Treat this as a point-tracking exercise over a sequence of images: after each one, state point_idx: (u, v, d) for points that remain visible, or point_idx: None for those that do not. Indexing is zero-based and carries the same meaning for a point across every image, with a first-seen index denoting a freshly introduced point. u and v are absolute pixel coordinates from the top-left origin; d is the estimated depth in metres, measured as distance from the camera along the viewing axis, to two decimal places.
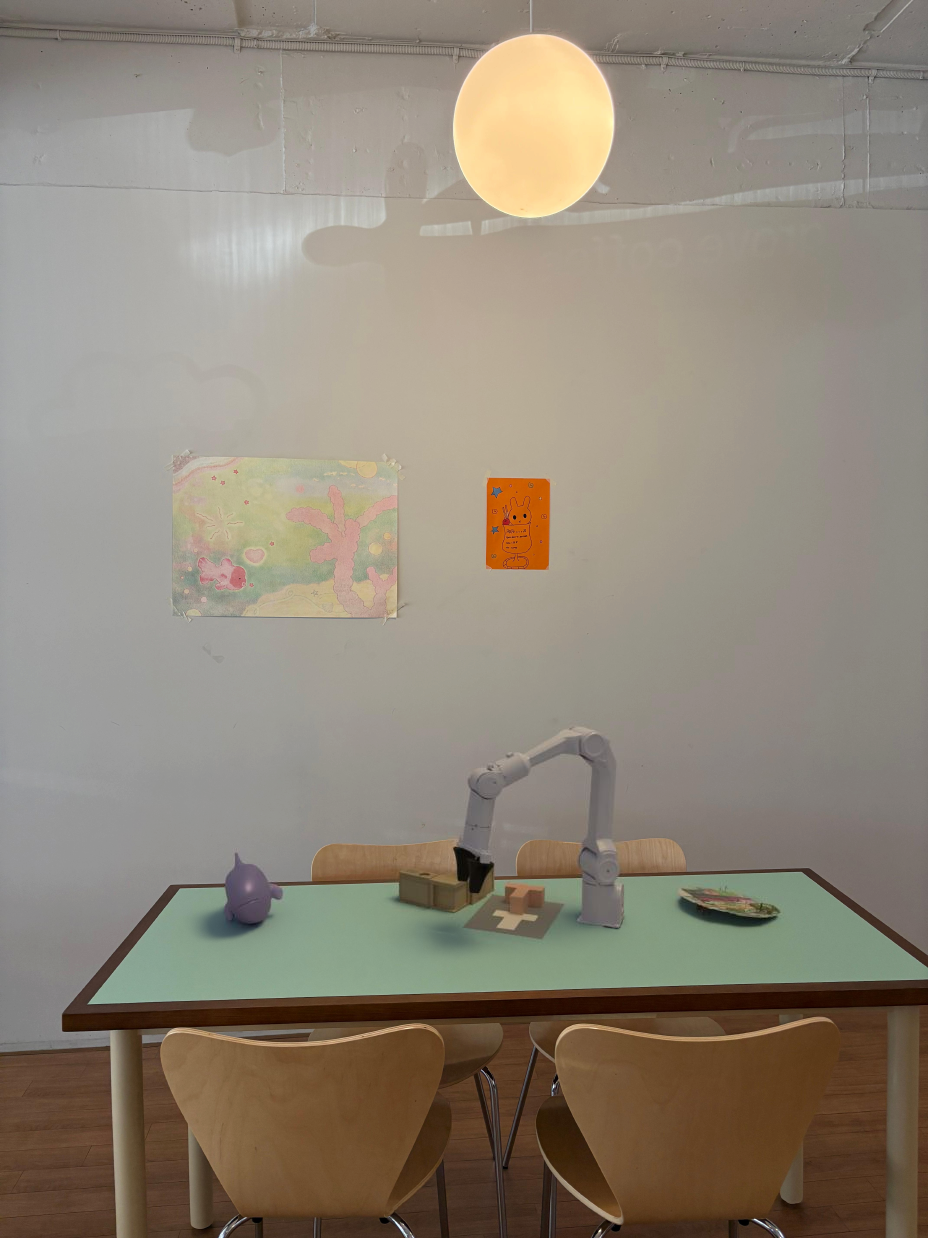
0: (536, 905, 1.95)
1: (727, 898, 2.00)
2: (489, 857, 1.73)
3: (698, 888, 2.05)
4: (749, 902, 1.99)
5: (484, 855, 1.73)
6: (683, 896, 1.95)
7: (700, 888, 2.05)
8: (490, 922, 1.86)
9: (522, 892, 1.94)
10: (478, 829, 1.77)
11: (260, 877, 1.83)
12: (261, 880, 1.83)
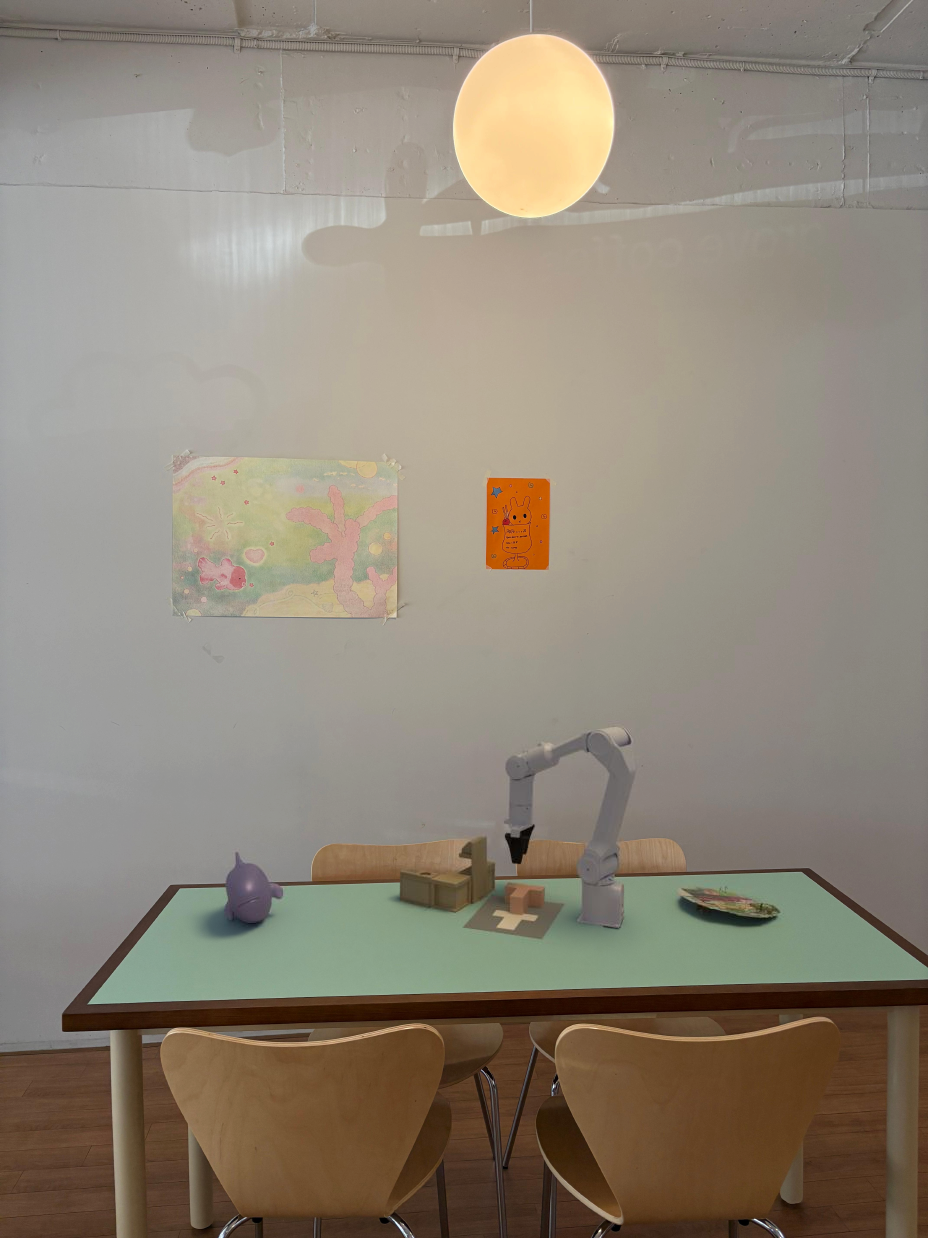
0: (536, 905, 1.95)
1: (727, 898, 2.00)
2: (517, 832, 1.95)
3: (698, 888, 2.05)
4: (749, 902, 1.99)
5: (512, 830, 1.95)
6: (684, 896, 1.95)
7: (700, 888, 2.05)
8: (490, 922, 1.86)
9: (522, 892, 1.94)
10: (515, 807, 2.00)
11: (261, 876, 1.84)
12: (262, 879, 1.83)
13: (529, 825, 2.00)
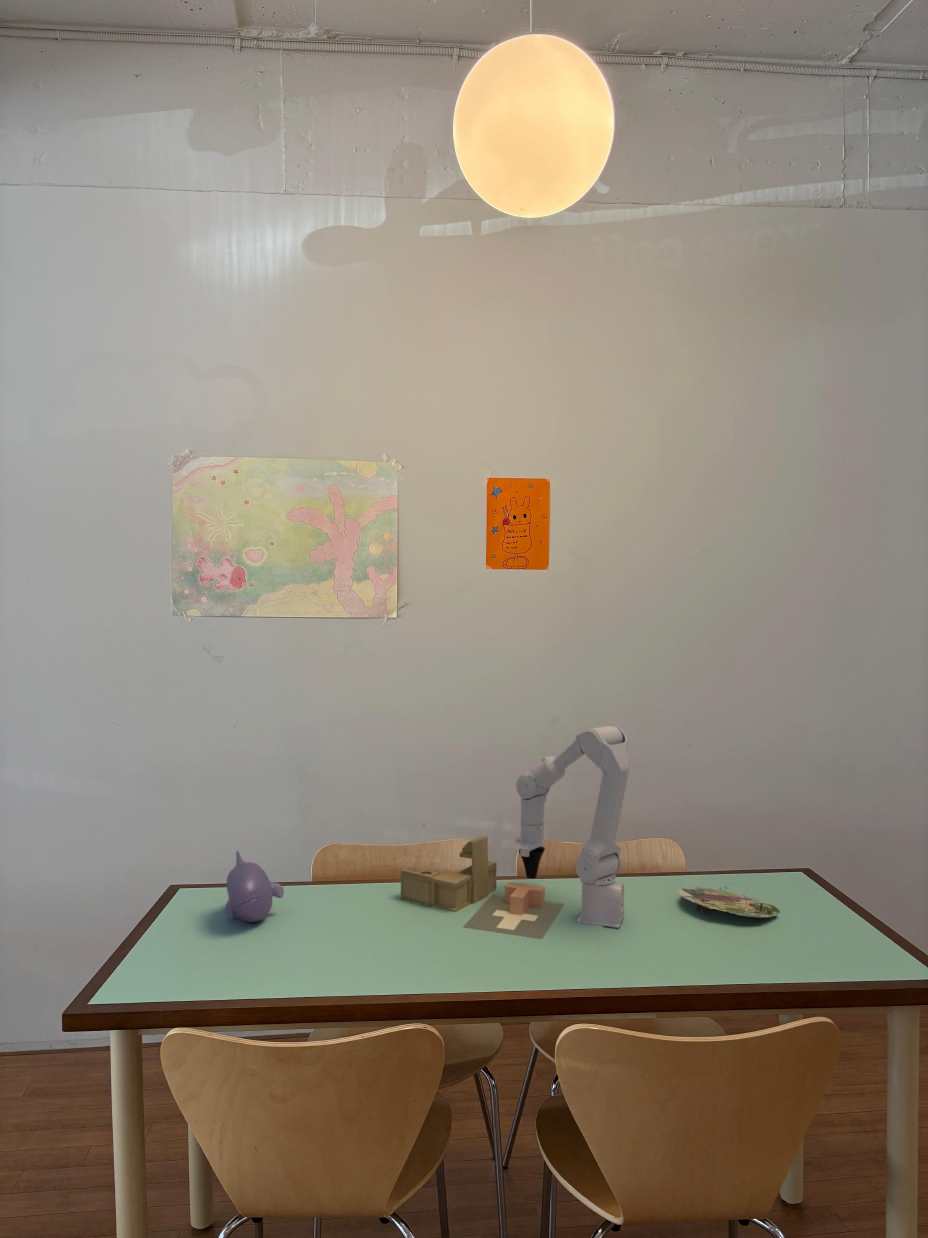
0: (536, 905, 1.95)
1: (727, 898, 2.00)
2: (527, 851, 1.97)
3: (698, 888, 2.05)
4: (749, 902, 1.99)
5: (522, 849, 1.97)
6: (683, 896, 1.95)
7: (700, 888, 2.05)
8: (490, 922, 1.86)
9: (522, 892, 1.94)
10: (526, 826, 2.01)
11: (261, 875, 1.84)
12: (262, 878, 1.84)
13: (540, 844, 2.01)
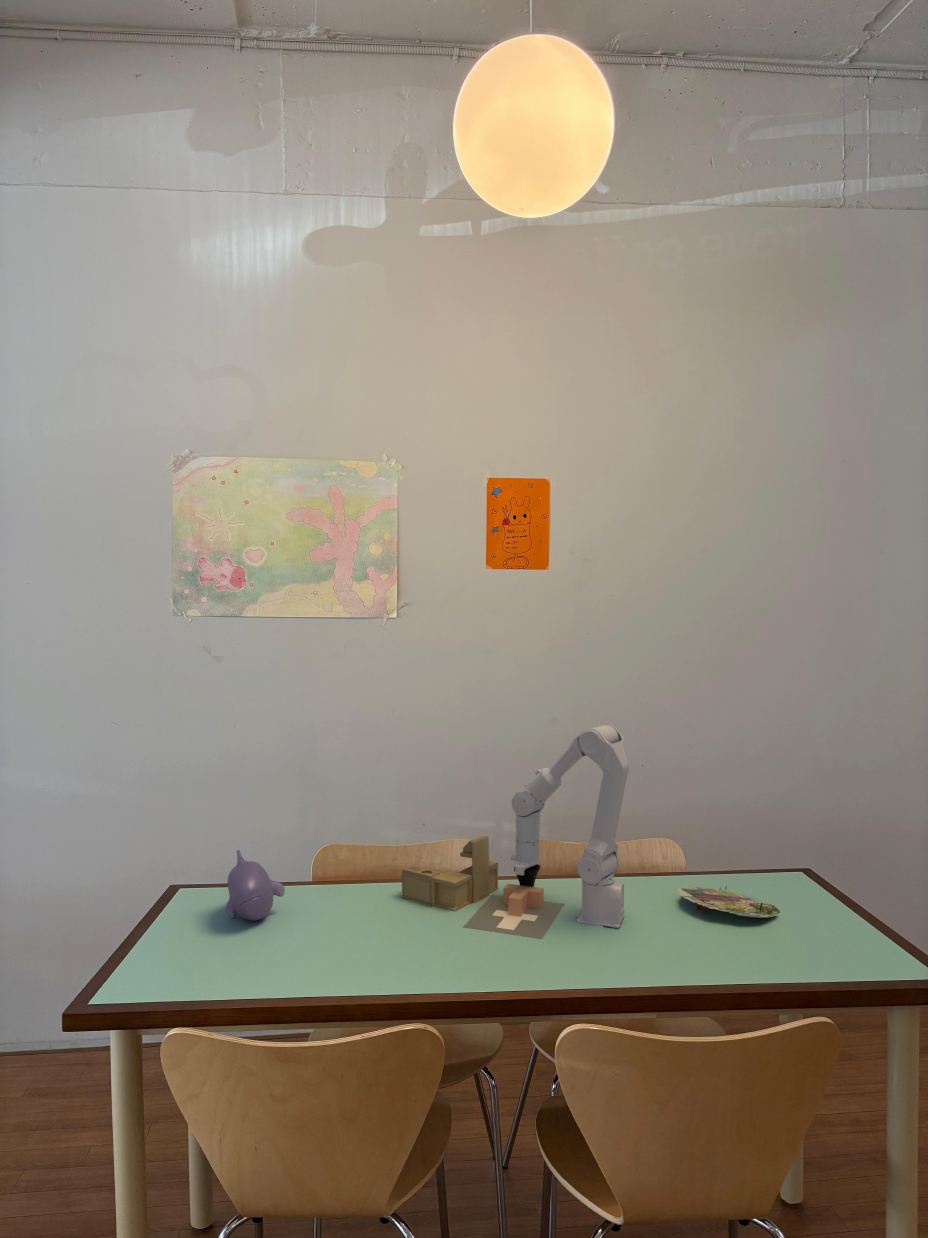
0: (535, 906, 1.94)
1: (727, 898, 2.00)
2: (522, 869, 1.93)
3: (698, 888, 2.05)
4: (749, 902, 1.99)
5: (517, 867, 1.93)
6: (683, 896, 1.95)
7: (700, 888, 2.05)
8: (490, 922, 1.86)
9: (521, 893, 1.93)
10: (521, 844, 1.97)
11: (262, 874, 1.85)
12: (263, 877, 1.85)
13: (535, 862, 1.97)
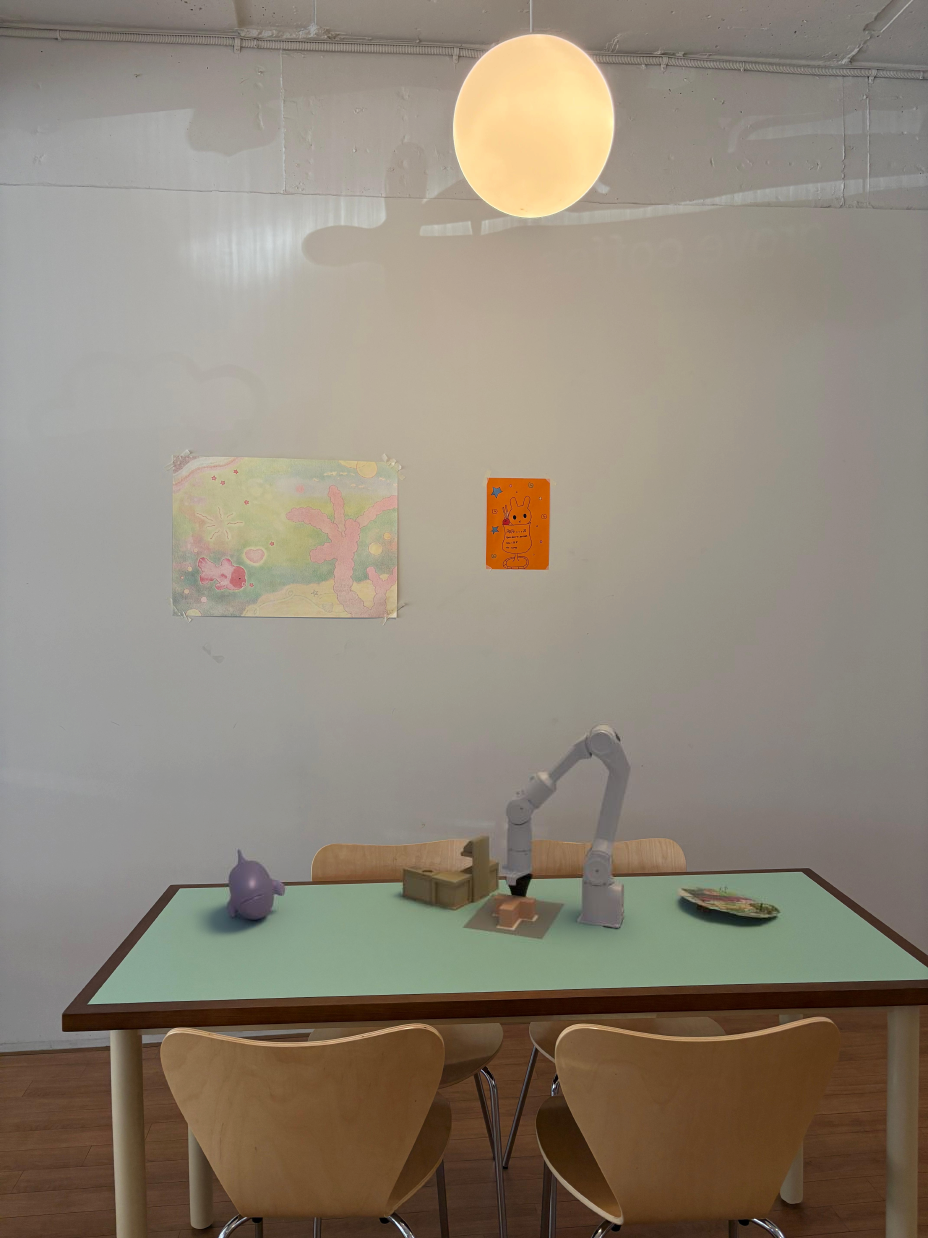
0: (527, 917, 1.88)
1: (727, 898, 2.00)
2: (513, 879, 1.86)
3: (698, 888, 2.05)
4: (749, 902, 1.99)
5: (508, 877, 1.86)
6: (684, 896, 1.95)
7: (700, 888, 2.05)
8: (490, 922, 1.86)
9: (512, 904, 1.86)
10: (512, 853, 1.90)
11: (263, 873, 1.86)
12: (264, 876, 1.85)
13: (527, 872, 1.90)
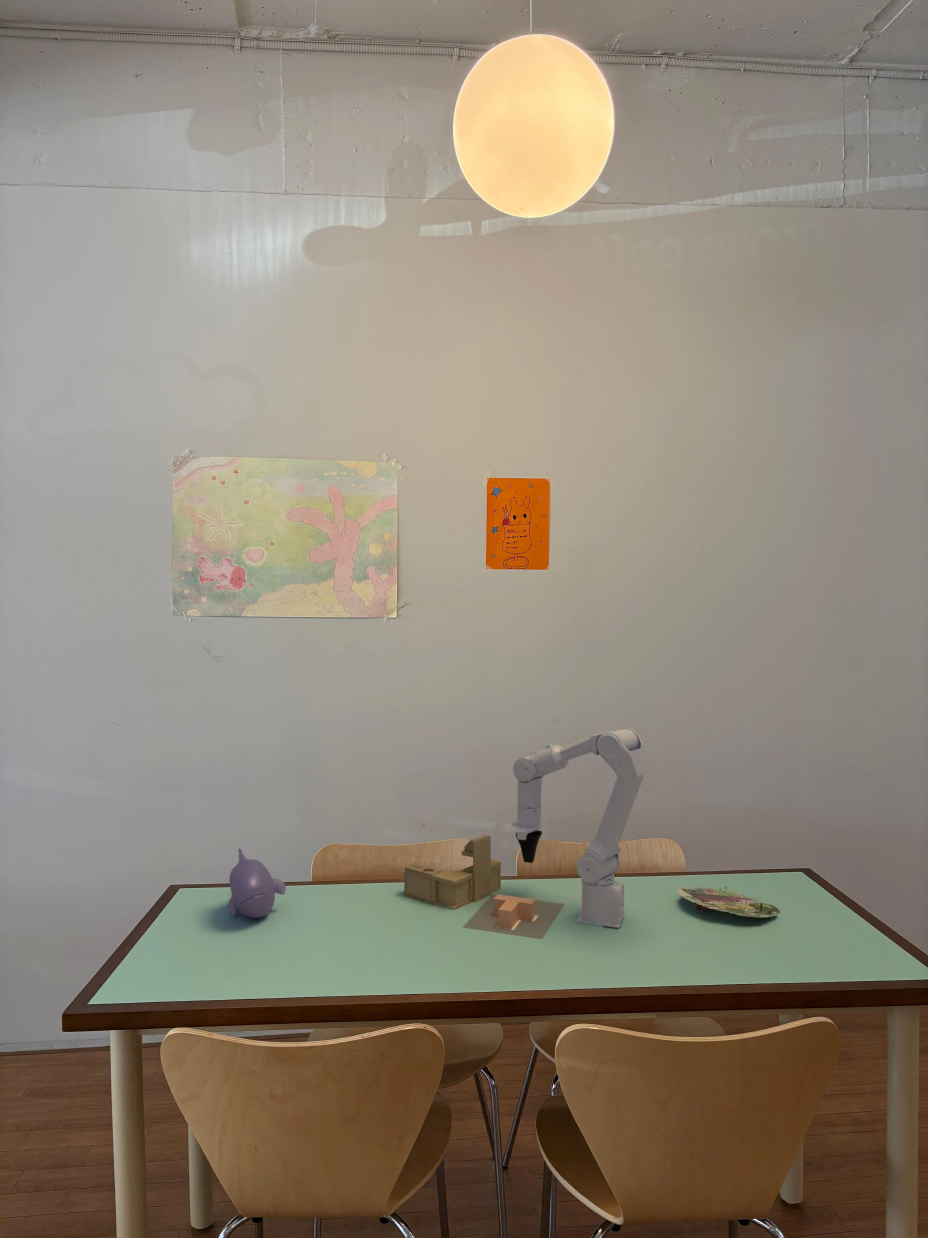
0: (526, 918, 1.87)
1: (727, 898, 2.00)
2: (524, 834, 1.93)
3: (698, 888, 2.05)
4: (749, 902, 1.99)
5: (519, 832, 1.94)
6: (683, 896, 1.95)
7: (700, 888, 2.05)
8: (490, 922, 1.86)
9: (511, 905, 1.85)
10: (522, 810, 1.98)
11: (264, 872, 1.87)
12: (265, 875, 1.86)
13: (537, 828, 1.98)
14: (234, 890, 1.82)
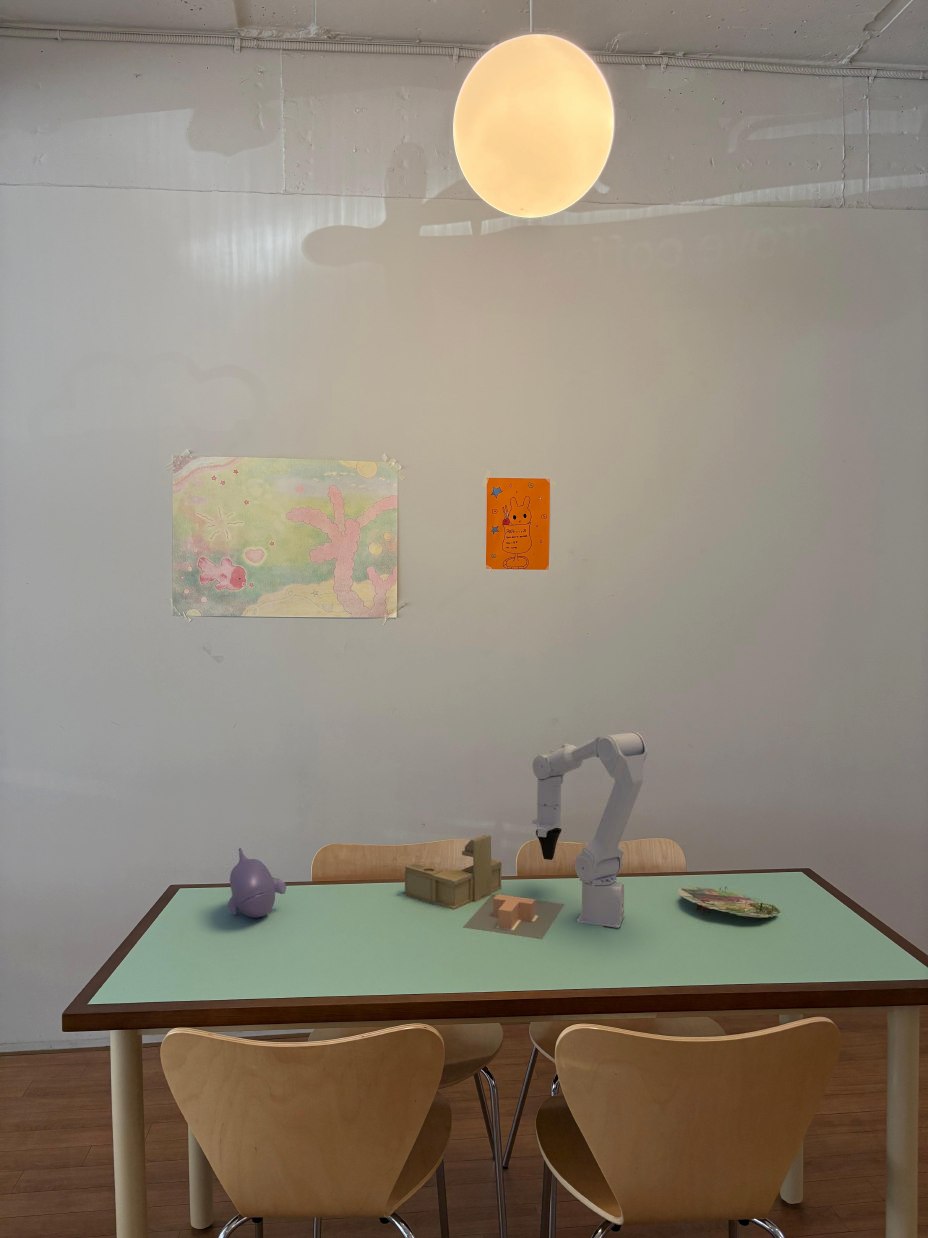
0: (526, 918, 1.87)
1: (727, 898, 2.00)
2: (544, 831, 1.96)
3: (698, 888, 2.05)
4: (749, 902, 1.99)
5: (539, 829, 1.96)
6: (683, 896, 1.95)
7: (700, 888, 2.05)
8: (490, 922, 1.86)
9: (511, 905, 1.85)
10: (542, 807, 2.01)
11: (264, 872, 1.87)
12: (266, 874, 1.86)
13: (557, 825, 2.00)
14: (234, 889, 1.82)
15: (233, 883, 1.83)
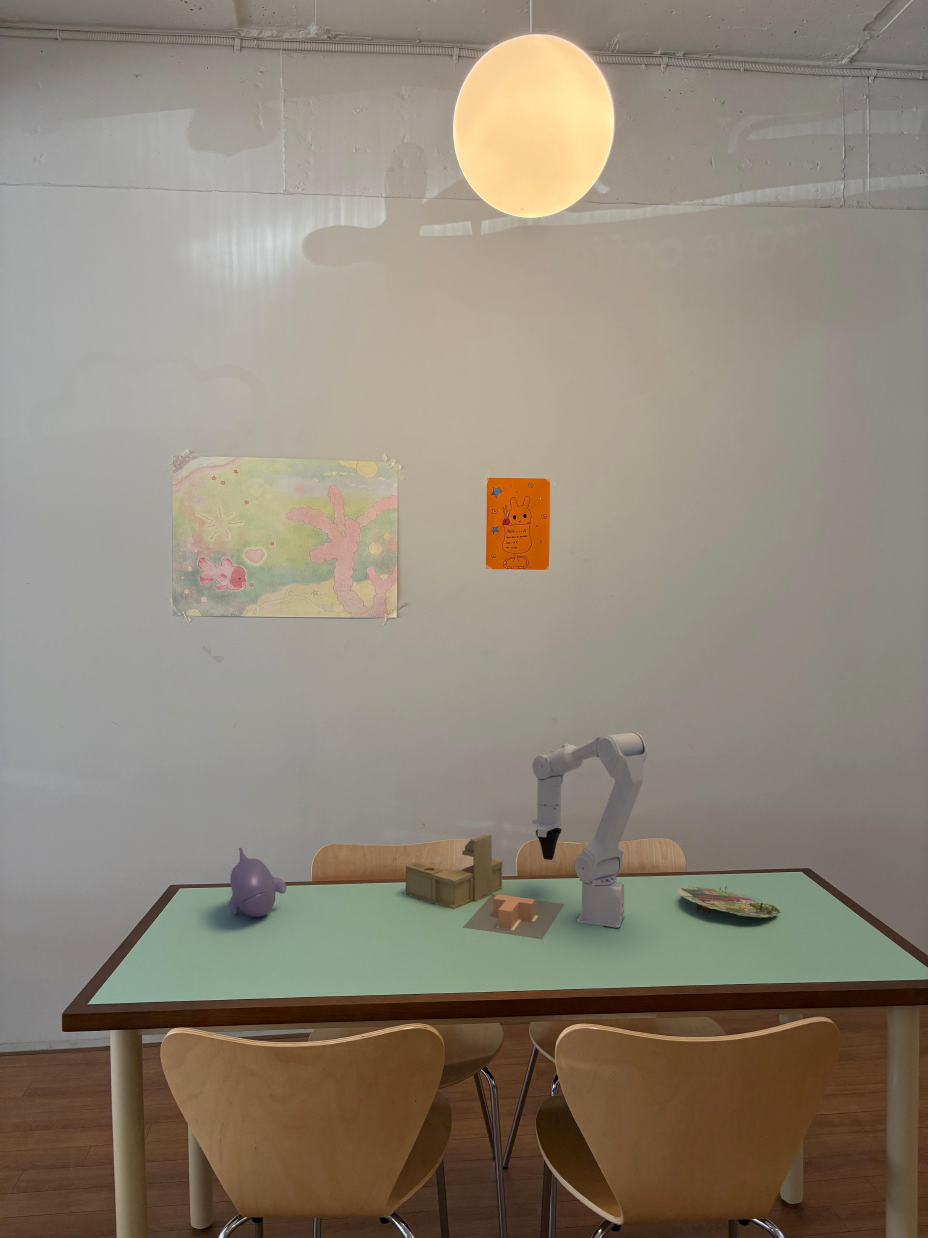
0: (526, 918, 1.87)
1: (727, 898, 2.00)
2: (544, 831, 1.96)
3: (698, 888, 2.05)
4: (749, 902, 1.99)
5: (539, 829, 1.96)
6: (684, 896, 1.95)
7: (700, 888, 2.05)
8: (490, 922, 1.86)
9: (511, 905, 1.85)
10: (542, 807, 2.01)
11: (265, 871, 1.87)
12: (266, 874, 1.87)
13: (557, 825, 2.00)
14: (235, 889, 1.82)
15: (234, 883, 1.83)
